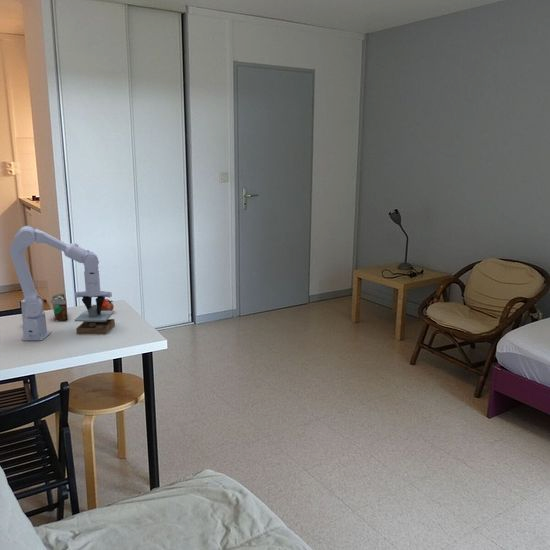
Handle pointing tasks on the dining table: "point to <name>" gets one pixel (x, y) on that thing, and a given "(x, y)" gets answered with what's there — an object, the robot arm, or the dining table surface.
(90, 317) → the lid
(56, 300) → the food container
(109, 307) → the pomegranate
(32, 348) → the dining table surface
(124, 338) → the dining table surface
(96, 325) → the wooden tray
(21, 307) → the supplement box
